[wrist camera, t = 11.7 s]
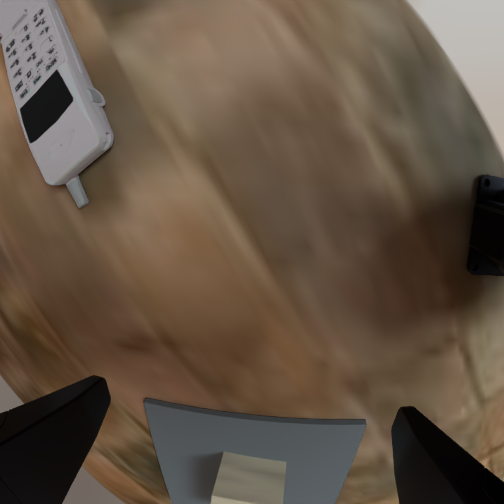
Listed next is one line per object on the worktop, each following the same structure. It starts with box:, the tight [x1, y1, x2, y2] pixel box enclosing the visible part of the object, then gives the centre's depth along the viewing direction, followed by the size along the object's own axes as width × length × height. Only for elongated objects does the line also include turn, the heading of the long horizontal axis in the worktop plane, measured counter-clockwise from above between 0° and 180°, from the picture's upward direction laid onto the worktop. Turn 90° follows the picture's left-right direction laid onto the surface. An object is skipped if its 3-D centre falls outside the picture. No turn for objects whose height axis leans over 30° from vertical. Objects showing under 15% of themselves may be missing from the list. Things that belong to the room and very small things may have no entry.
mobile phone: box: [0, 0, 114, 208], centre depth 15 cm, size 6×6×25 cm
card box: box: [211, 452, 286, 504], centre depth 23 cm, size 8×6×5 cm
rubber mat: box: [144, 398, 366, 504], centre depth 25 cm, size 18×18×1 cm
